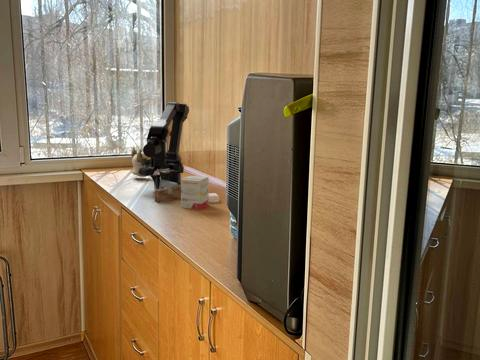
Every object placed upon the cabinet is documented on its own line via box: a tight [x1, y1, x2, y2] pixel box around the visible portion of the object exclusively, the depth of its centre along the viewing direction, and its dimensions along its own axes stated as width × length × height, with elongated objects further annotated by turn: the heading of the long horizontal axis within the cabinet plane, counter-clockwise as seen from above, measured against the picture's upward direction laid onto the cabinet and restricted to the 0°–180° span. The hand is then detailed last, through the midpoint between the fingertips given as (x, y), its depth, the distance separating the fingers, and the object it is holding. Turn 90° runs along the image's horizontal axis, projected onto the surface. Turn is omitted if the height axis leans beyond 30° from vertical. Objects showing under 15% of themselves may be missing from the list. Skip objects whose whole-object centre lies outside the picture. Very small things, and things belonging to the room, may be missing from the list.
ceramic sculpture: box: [130, 146, 148, 178], centre depth 241 cm, size 11×9×15 cm
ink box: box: [180, 175, 210, 210], centre depth 191 cm, size 9×9×12 cm
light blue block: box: [153, 178, 179, 193], centre depth 213 cm, size 2×13×5 cm, turn 48°
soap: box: [209, 192, 220, 204], centre depth 201 cm, size 9×6×3 cm, turn 104°
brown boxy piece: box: [154, 184, 181, 204], centre depth 201 cm, size 14×2×5 cm, turn 139°
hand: (159, 188), depth 216 cm, fingers closed on light blue block, 2 cm apart
